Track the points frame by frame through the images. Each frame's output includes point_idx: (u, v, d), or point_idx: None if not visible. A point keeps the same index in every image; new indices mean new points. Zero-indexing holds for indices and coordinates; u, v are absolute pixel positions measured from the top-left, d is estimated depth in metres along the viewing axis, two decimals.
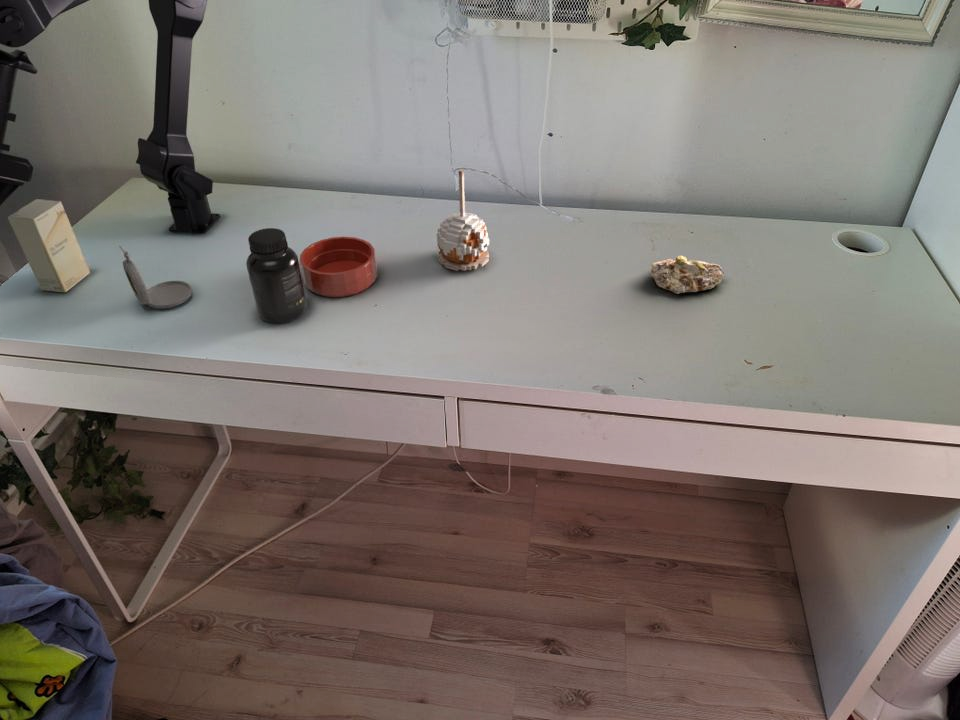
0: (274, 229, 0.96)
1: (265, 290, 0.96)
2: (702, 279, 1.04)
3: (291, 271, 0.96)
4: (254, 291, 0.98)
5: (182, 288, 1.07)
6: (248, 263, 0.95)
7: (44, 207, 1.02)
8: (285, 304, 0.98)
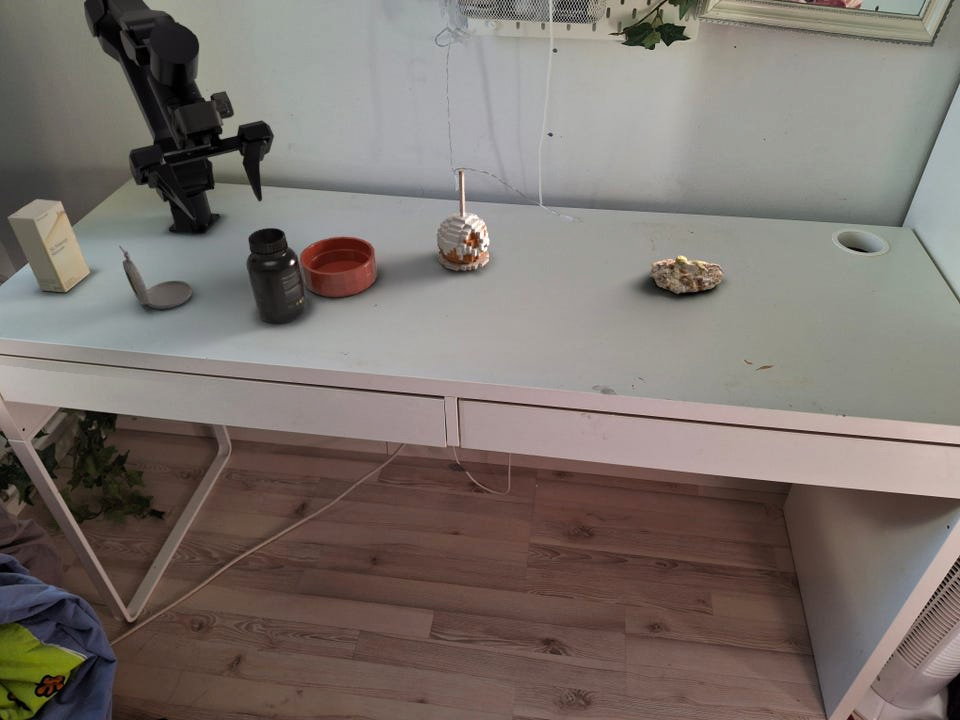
0: (274, 229, 0.96)
1: (265, 290, 0.96)
2: (702, 279, 1.04)
3: (291, 271, 0.96)
4: (254, 291, 0.98)
5: (182, 288, 1.07)
6: (248, 263, 0.95)
7: (44, 207, 1.02)
8: (285, 304, 0.98)
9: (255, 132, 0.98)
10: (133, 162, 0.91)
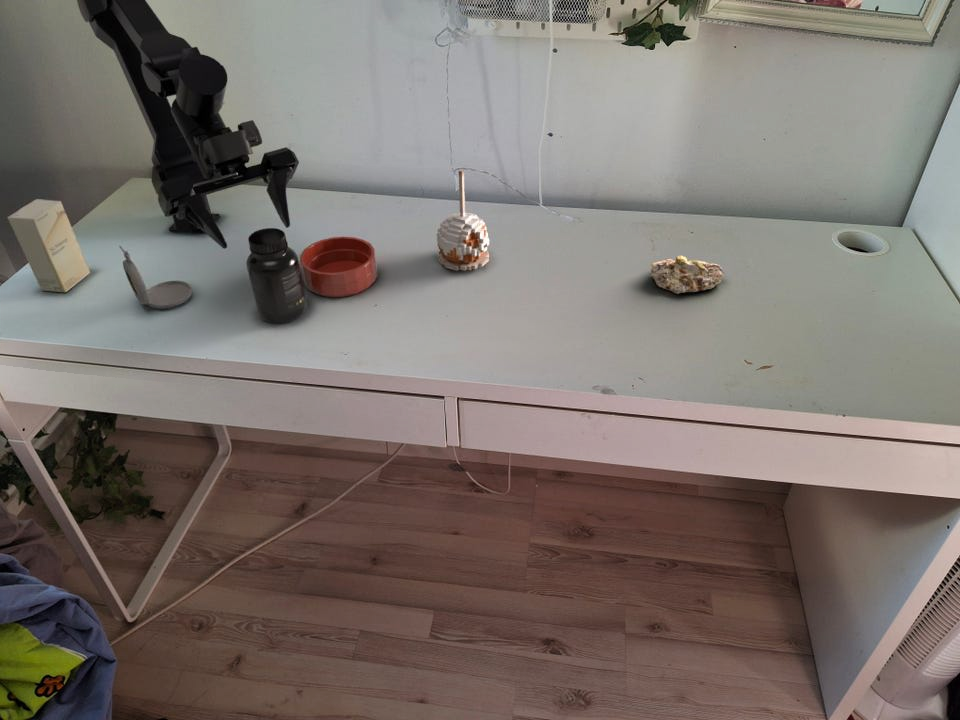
0: (274, 229, 0.96)
1: (265, 290, 0.96)
2: (702, 279, 1.04)
3: (291, 271, 0.96)
4: (254, 291, 0.98)
5: (182, 288, 1.07)
6: (248, 263, 0.95)
7: (44, 207, 1.02)
8: (285, 304, 0.98)
9: (281, 159, 0.98)
10: (164, 194, 0.91)
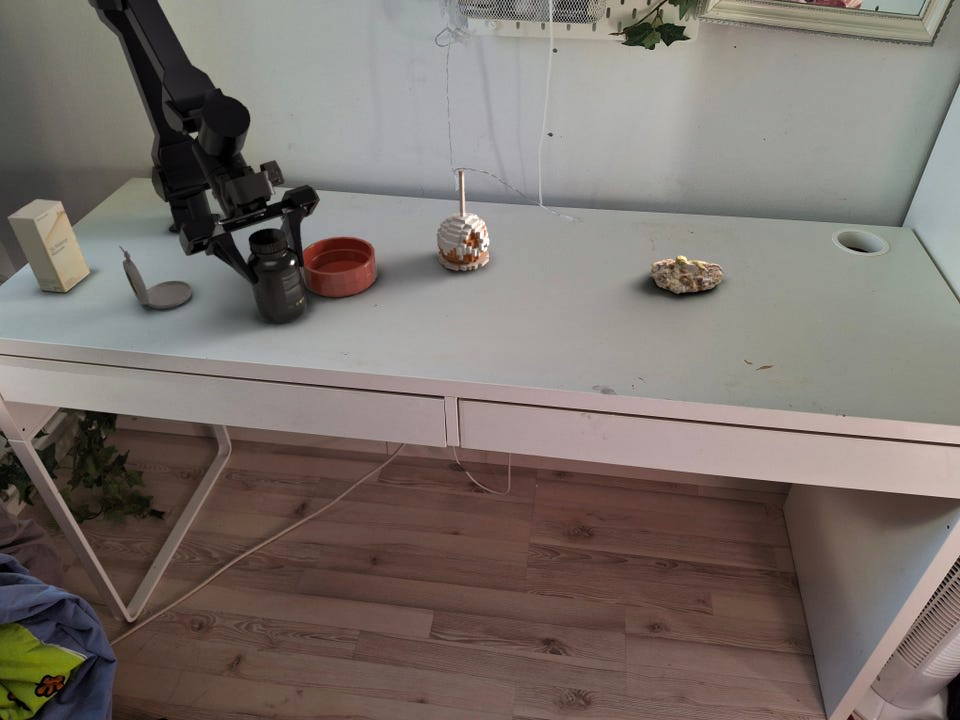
0: (274, 229, 0.96)
1: (265, 290, 0.96)
2: (702, 279, 1.04)
3: (291, 271, 0.96)
4: (254, 291, 0.98)
5: (182, 288, 1.07)
6: (248, 263, 0.95)
7: (44, 207, 1.02)
8: (285, 304, 0.98)
9: (302, 197, 0.98)
10: (186, 235, 0.90)
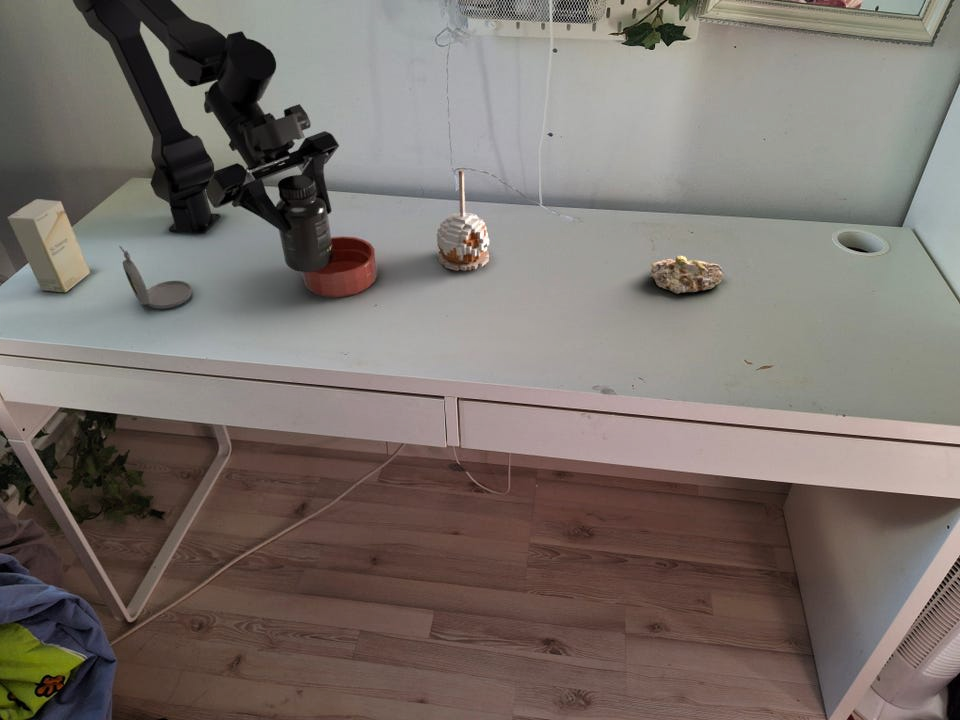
0: (301, 176, 0.96)
1: (298, 237, 0.96)
2: (702, 279, 1.04)
3: (323, 216, 0.96)
4: (285, 240, 0.97)
5: (182, 288, 1.07)
6: (279, 211, 0.95)
7: (44, 207, 1.02)
8: (317, 251, 0.98)
9: (323, 143, 0.98)
10: (220, 183, 0.89)
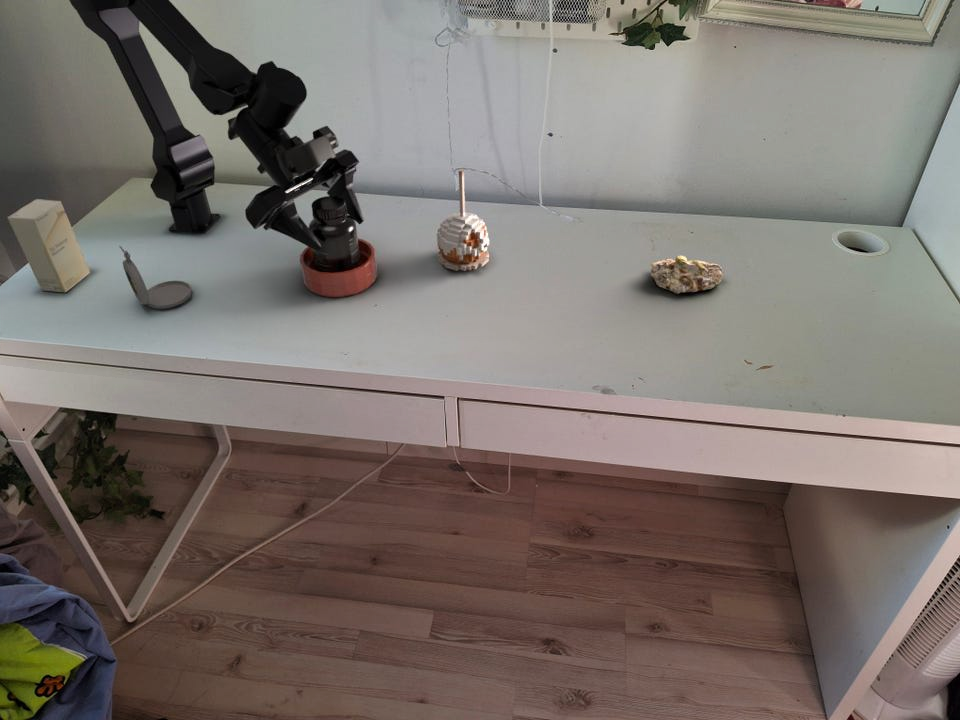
0: (330, 196, 1.03)
1: (334, 254, 1.02)
2: (702, 279, 1.04)
3: (355, 233, 1.03)
4: (320, 258, 1.03)
5: (182, 288, 1.07)
6: (314, 231, 1.01)
7: (44, 207, 1.02)
8: (350, 265, 1.05)
9: (346, 160, 1.04)
10: (264, 205, 0.94)
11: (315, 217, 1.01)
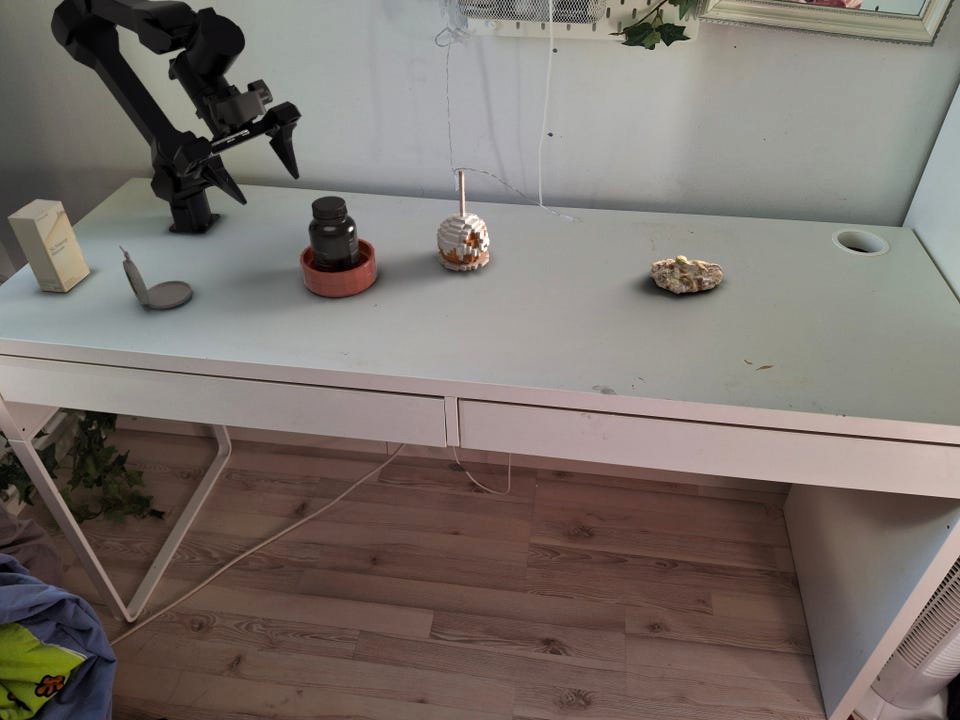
0: (330, 196, 1.03)
1: (334, 254, 1.02)
2: (702, 279, 1.04)
3: (355, 233, 1.03)
4: (320, 258, 1.03)
5: (182, 288, 1.07)
6: (314, 231, 1.01)
7: (44, 207, 1.02)
8: (350, 265, 1.05)
9: (286, 114, 1.03)
10: (186, 157, 0.95)
11: (315, 217, 1.01)
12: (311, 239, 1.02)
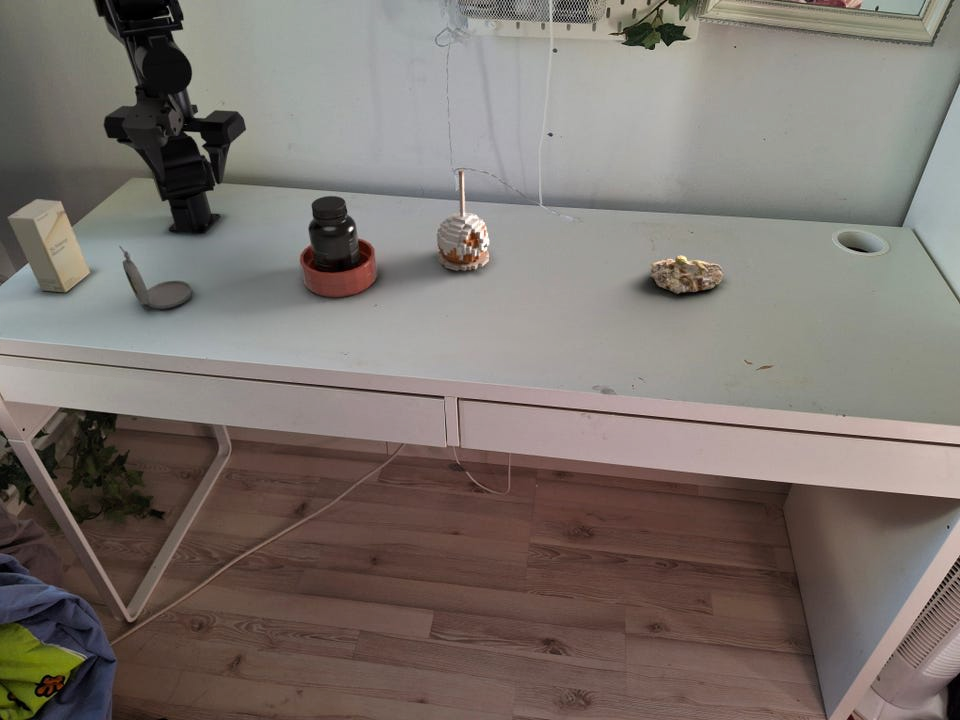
0: (330, 196, 1.03)
1: (334, 254, 1.02)
2: (702, 279, 1.04)
3: (355, 233, 1.03)
4: (320, 258, 1.03)
5: (182, 288, 1.07)
6: (314, 231, 1.01)
7: (44, 207, 1.02)
8: (350, 265, 1.05)
9: (211, 137, 0.98)
10: (105, 130, 1.00)
11: (315, 217, 1.01)
12: (311, 239, 1.02)
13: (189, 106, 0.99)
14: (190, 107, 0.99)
